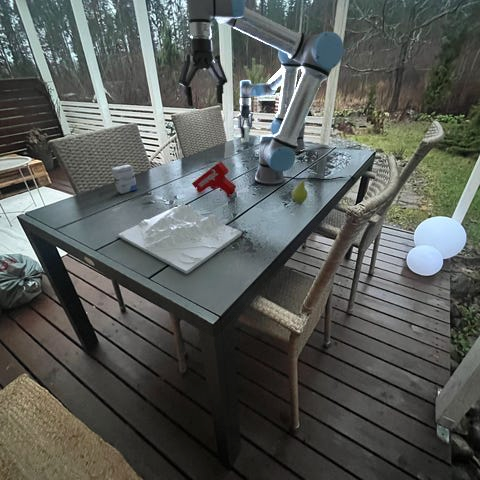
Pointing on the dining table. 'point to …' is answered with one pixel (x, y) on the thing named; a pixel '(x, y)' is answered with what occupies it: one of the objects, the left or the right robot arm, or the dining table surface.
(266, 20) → the left robot arm
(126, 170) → the ink box
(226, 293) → the dining table surface
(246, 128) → the box
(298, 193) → the fruit
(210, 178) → the toy gun
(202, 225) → the relief map
